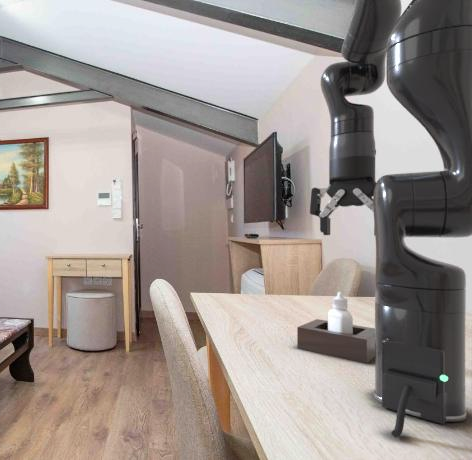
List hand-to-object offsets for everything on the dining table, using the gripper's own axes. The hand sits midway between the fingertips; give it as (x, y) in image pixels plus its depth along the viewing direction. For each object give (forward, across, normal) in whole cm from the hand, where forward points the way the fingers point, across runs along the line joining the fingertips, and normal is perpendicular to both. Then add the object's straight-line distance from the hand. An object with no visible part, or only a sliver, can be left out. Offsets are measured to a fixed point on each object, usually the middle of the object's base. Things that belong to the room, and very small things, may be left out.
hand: (351, 235), depth 79 cm
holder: (+24, -2, -1) cm, 24 cm away
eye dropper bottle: (+24, -2, -1) cm, 24 cm away
